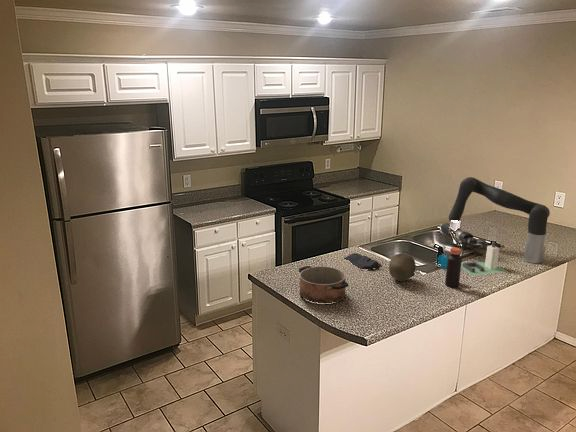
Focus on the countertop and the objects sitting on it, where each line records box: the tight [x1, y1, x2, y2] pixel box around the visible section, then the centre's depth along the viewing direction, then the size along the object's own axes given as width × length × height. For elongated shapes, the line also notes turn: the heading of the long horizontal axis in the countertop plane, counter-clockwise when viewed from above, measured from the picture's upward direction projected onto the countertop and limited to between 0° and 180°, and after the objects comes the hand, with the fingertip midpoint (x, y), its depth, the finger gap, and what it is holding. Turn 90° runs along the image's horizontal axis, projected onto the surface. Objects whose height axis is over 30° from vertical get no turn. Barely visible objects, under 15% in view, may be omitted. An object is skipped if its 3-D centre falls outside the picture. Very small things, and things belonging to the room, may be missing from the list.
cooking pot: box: [298, 265, 349, 303], centre depth 223 cm, size 30×22×11 cm
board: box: [461, 261, 508, 276], centre depth 254 cm, size 22×16×1 cm
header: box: [462, 261, 484, 272], centre depth 254 cm, size 8×11×2 cm
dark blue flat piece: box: [343, 252, 383, 269], centre depth 264 cm, size 15×22×5 cm
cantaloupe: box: [388, 252, 417, 282], centre depth 239 cm, size 14×14×15 cm
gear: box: [437, 253, 449, 271], centre depth 257 cm, size 11×6×10 cm
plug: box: [484, 241, 500, 270], centre depth 253 cm, size 4×6×15 cm, turn 12°
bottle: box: [444, 246, 463, 289], centre depth 232 cm, size 7×7×20 cm
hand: (479, 246), depth 264 cm, fingers open, 8 cm apart
